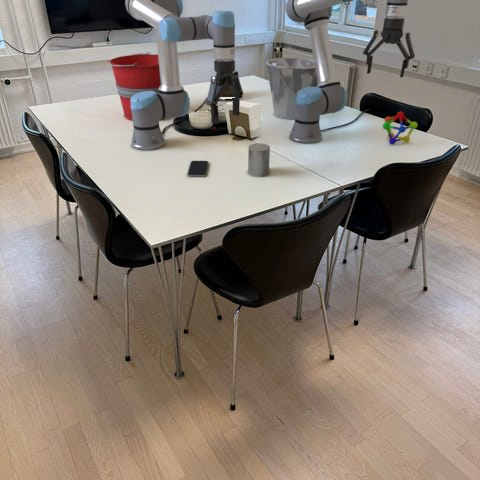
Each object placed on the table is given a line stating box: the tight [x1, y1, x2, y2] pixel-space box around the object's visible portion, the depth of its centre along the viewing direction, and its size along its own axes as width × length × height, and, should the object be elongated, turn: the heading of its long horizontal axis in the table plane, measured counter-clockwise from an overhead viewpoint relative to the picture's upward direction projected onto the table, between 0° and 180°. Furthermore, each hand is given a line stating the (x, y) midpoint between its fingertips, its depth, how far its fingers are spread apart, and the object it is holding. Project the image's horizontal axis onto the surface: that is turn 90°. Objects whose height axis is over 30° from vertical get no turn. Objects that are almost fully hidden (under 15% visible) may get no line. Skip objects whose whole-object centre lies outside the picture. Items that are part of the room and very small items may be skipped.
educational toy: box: [382, 110, 418, 145], centre depth 207 cm, size 16×13×15 cm
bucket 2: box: [265, 56, 318, 120], centre depth 242 cm, size 30×30×28 cm
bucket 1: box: [106, 51, 161, 121], centre depth 240 cm, size 35×35×30 cm
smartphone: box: [187, 160, 209, 177], centre depth 182 cm, size 7×1×15 cm
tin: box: [247, 142, 271, 178], centre depth 177 cm, size 8×8×11 cm
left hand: (225, 119), depth 168 cm, fingers open, 13 cm apart
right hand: (384, 75), depth 182 cm, fingers open, 13 cm apart
